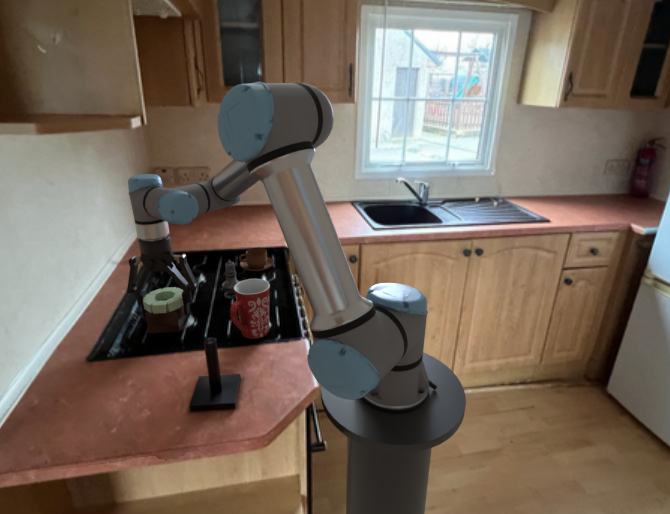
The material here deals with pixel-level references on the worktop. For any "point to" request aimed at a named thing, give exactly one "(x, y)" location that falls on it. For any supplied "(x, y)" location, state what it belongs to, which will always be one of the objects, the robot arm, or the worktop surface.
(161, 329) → the riser
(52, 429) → the worktop surface
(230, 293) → the grey chess piece
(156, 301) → the ring disc
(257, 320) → the mug
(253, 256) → the cup and saucer
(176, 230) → the worktop surface
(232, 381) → the stand
